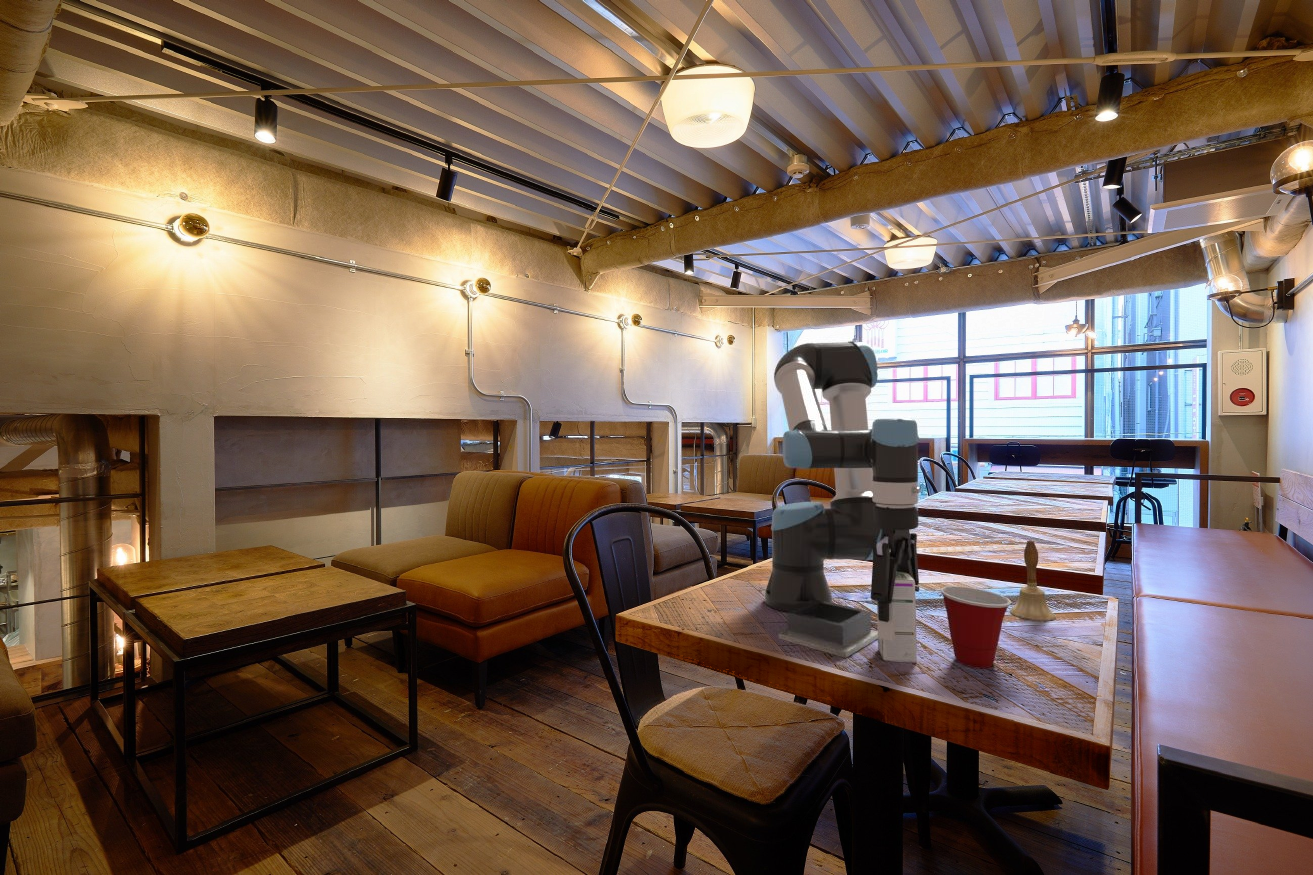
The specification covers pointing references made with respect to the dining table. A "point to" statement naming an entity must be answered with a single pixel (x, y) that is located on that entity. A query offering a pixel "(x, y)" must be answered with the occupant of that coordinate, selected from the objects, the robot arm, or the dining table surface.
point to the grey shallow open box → (830, 628)
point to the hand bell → (1032, 591)
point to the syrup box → (902, 623)
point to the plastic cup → (974, 623)
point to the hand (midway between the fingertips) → (896, 632)
